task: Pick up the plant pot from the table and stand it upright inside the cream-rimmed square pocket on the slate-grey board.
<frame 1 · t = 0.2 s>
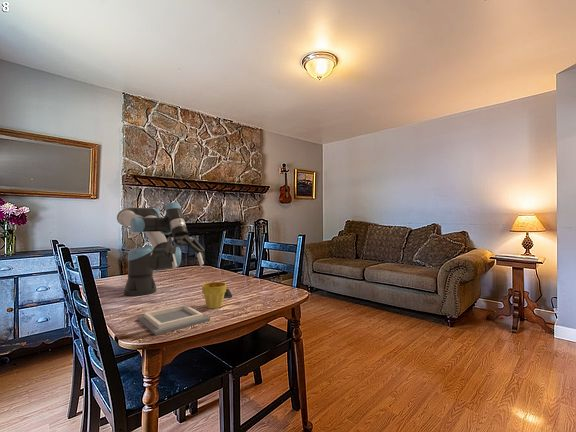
hand: (189, 266, 141), 16 cm above the table, tool tilted 35°, fingers open, 13 cm apart
phone: (222, 295, 150), on the table
plant pot: (214, 306, 130), on the table
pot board: (173, 320, 113), on the table
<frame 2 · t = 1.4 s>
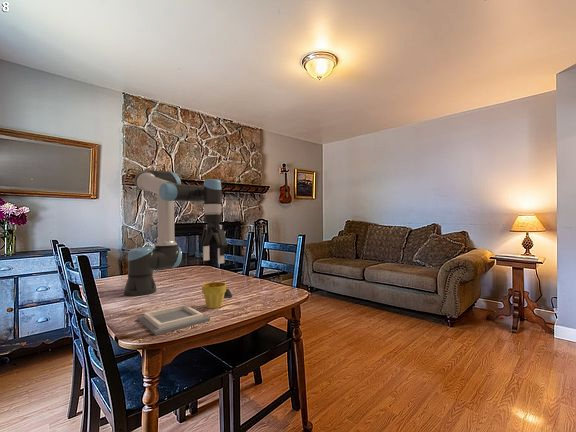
hand: (213, 261, 130), 20 cm above the table, tool pointing down, fingers open, 13 cm apart
nothing on the table moved.
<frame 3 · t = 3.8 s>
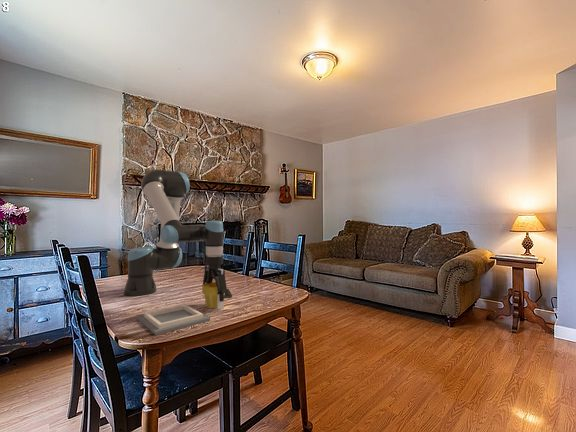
hand: (214, 305, 130), 0 cm above the table, tool pointing down, fingers closed on plant pot, 10 cm apart
plant pot: (214, 306, 130), on the table, touching gripper
everything else where it was.
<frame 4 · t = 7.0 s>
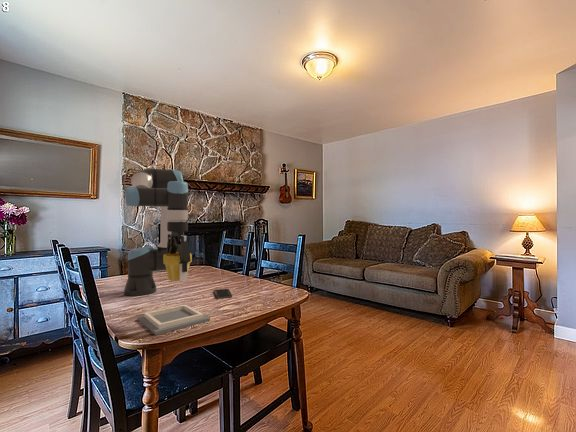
hand: (177, 278, 114), 16 cm above the table, tool pointing down, fingers closed on plant pot, 10 cm apart
plant pot: (177, 279, 114), point 15 cm above the table, touching gripper
everything else where it was.
when the fingers open (3 cm above the table, at t = 10.2 s): plant pot drops 1 cm, resting on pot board.
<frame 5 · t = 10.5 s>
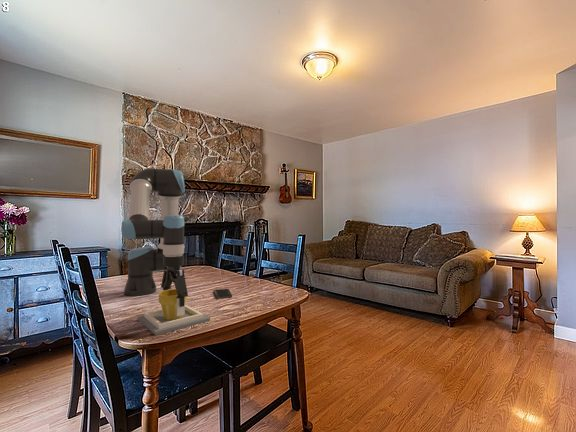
hand: (173, 310, 113), 4 cm above the table, tool pointing down, fingers open, 13 cm apart
plant pot: (173, 317, 113), point 1 cm above the table, touching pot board
everything else where it was.
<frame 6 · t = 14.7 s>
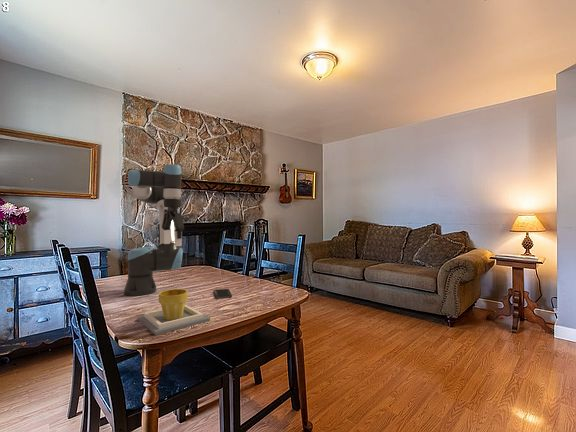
hand: (172, 245, 134), 27 cm above the table, tool pointing down, fingers open, 13 cm apart
nothing on the table moved.
at the end: plant pot 0.3 cm off-centre on the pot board, point 0.8 cm above the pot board's base; plant pot tilted 0°; the gripper is holding nothing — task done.
